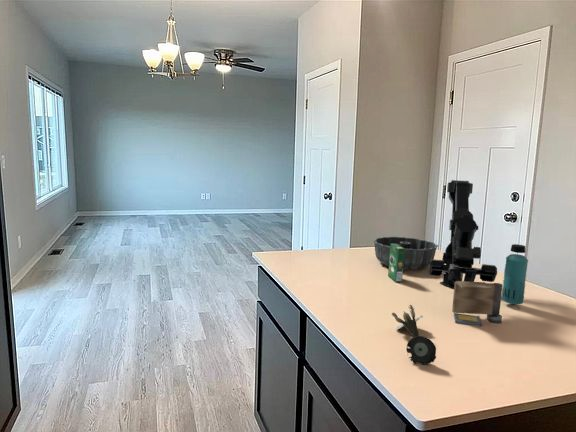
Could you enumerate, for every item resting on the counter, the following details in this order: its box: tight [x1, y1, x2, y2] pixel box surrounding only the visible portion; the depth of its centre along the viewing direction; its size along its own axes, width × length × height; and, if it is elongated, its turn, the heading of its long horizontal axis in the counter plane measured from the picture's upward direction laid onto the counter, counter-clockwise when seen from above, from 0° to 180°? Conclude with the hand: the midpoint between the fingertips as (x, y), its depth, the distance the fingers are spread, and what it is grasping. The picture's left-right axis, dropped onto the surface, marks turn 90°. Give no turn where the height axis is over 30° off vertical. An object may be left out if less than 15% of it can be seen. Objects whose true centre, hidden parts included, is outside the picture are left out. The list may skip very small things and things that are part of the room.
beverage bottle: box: [501, 243, 529, 305], centre depth 138 cm, size 6×7×20 cm
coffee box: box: [387, 243, 405, 283], centre depth 163 cm, size 8×3×13 cm, turn 8°
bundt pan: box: [372, 236, 439, 271], centre depth 185 cm, size 26×26×10 cm
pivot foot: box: [485, 313, 503, 324], centre depth 127 cm, size 4×4×2 cm
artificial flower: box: [391, 304, 437, 366], centre depth 110 cm, size 9×22×10 cm, turn 168°
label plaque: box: [453, 313, 483, 327], centre depth 126 cm, size 7×6×1 cm
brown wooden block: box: [451, 280, 503, 316], centre depth 124 cm, size 13×7×10 cm, turn 87°
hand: (461, 295), depth 127 cm, fingers closed
